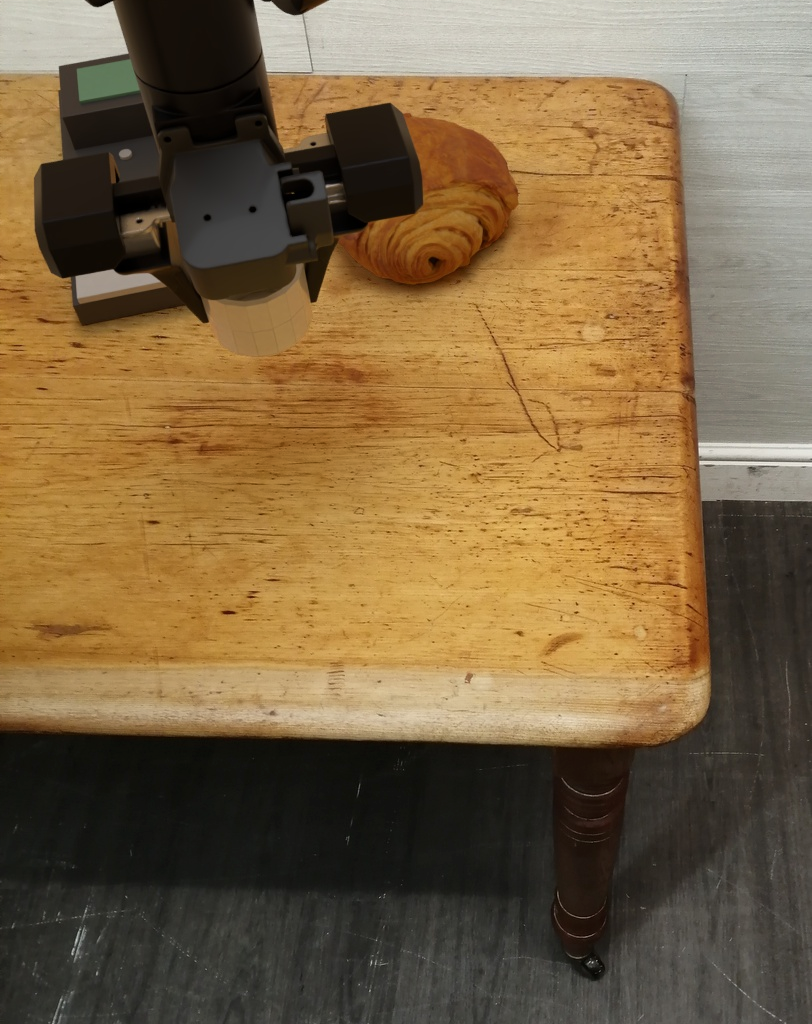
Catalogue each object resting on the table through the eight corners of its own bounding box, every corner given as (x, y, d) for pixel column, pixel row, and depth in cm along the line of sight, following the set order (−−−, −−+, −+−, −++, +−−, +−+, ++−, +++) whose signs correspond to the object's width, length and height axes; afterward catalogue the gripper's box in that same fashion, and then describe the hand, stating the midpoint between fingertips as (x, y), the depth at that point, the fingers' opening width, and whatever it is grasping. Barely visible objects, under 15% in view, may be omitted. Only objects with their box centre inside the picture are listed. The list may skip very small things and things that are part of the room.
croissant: (348, 325, 73) (337, 255, 66) (307, 169, 79) (292, 90, 72) (536, 282, 74) (545, 208, 67) (480, 131, 80) (483, 49, 73)
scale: (81, 325, 71) (56, 271, 67) (66, 110, 85) (44, 54, 81) (218, 298, 72) (202, 243, 68) (180, 89, 86) (165, 32, 82)
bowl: (219, 371, 55) (201, 315, 52) (208, 299, 58) (190, 240, 55) (321, 351, 56) (310, 294, 52) (305, 280, 59) (293, 221, 55)
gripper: (-21, 213, 38) (102, 450, 51) (447, 129, 40) (450, 381, 53) (-16, 50, 44) (93, 300, 57) (391, -18, 46) (406, 242, 59)
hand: (258, 307), depth 56 cm, fingers closed on bowl, 6 cm apart
